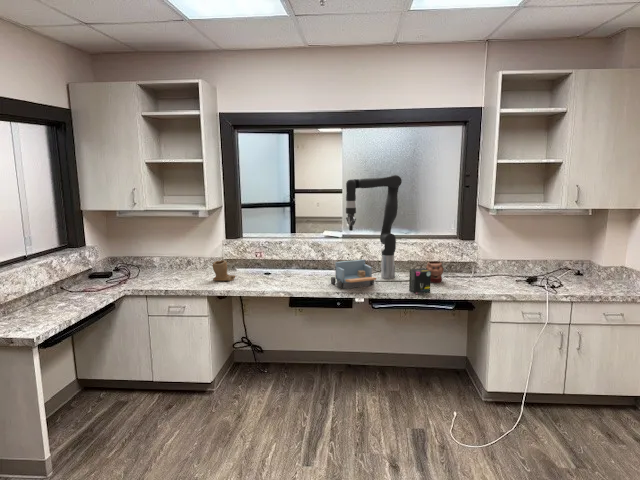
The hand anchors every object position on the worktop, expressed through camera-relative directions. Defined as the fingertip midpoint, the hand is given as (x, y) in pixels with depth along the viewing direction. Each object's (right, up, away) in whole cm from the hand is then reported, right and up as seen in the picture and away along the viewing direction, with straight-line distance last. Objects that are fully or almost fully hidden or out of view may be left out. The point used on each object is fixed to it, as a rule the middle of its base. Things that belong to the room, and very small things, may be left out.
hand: (350, 230), depth 306 cm
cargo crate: (+6, -32, -19) cm, 38 cm away
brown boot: (-94, -37, -2) cm, 101 cm away
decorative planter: (+59, -37, -9) cm, 70 cm away
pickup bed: (0, -38, -15) cm, 41 cm away
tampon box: (+42, -41, -35) cm, 69 cm away
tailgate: (+3, -34, -25) cm, 42 cm away
